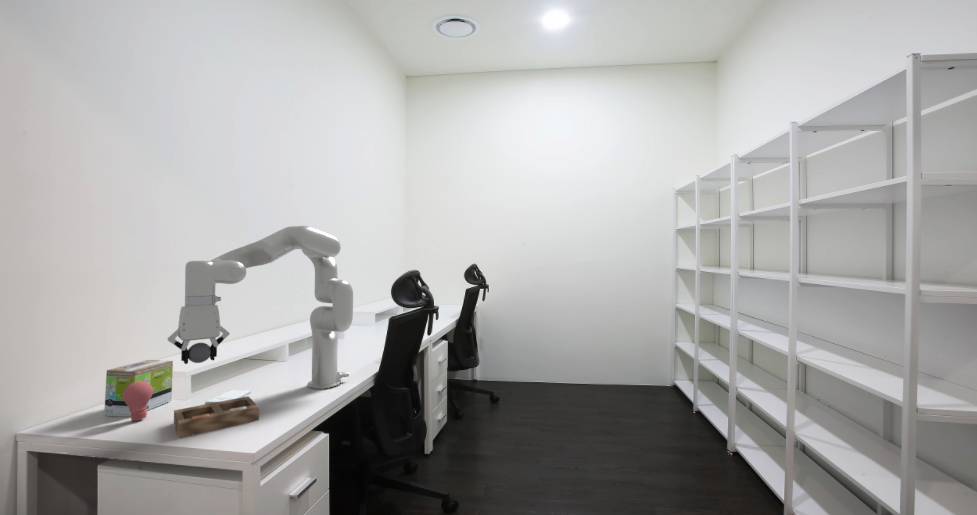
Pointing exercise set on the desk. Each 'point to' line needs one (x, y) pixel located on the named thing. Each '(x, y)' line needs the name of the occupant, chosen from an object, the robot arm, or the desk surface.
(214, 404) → the socket block
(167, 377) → the tea box
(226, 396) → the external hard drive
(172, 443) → the desk surface
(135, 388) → the light bulb
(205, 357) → the dark grey ball
